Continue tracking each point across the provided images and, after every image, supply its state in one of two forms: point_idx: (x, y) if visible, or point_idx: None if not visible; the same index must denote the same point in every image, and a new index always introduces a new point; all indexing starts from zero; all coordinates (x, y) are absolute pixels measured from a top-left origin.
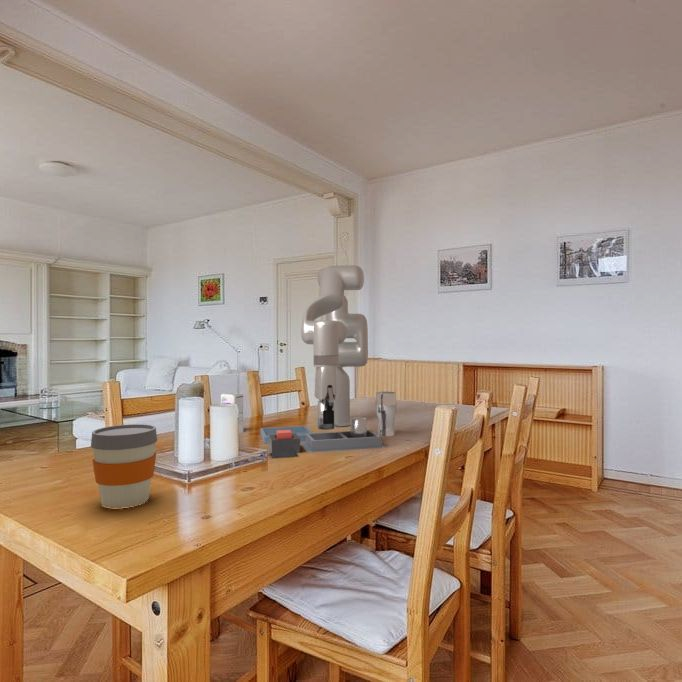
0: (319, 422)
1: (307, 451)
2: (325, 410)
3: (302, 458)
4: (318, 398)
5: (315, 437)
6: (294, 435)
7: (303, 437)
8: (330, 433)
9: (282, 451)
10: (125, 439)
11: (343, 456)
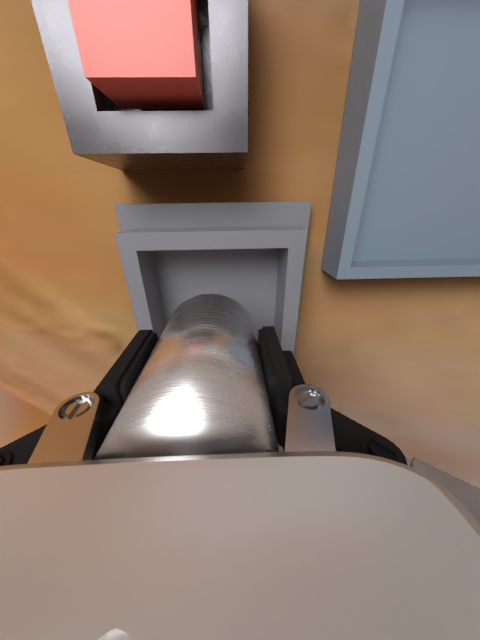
0: (182, 313)
1: (138, 208)
2: (75, 401)
3: (85, 175)
4: (33, 478)
5: (282, 275)
6: (176, 129)
7: (341, 224)
8: (281, 342)
9: None
10: None
11: (116, 329)
